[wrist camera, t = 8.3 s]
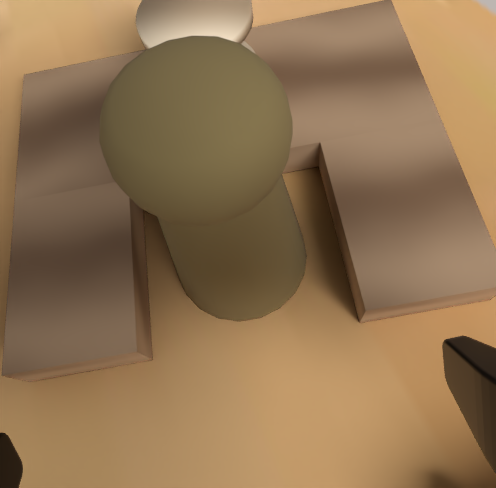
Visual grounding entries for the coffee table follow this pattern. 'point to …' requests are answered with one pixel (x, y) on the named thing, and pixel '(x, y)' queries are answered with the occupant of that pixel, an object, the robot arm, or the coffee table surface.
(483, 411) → the robot arm
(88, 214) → the notched board
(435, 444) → the coffee table surface
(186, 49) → the olive bulb shape
